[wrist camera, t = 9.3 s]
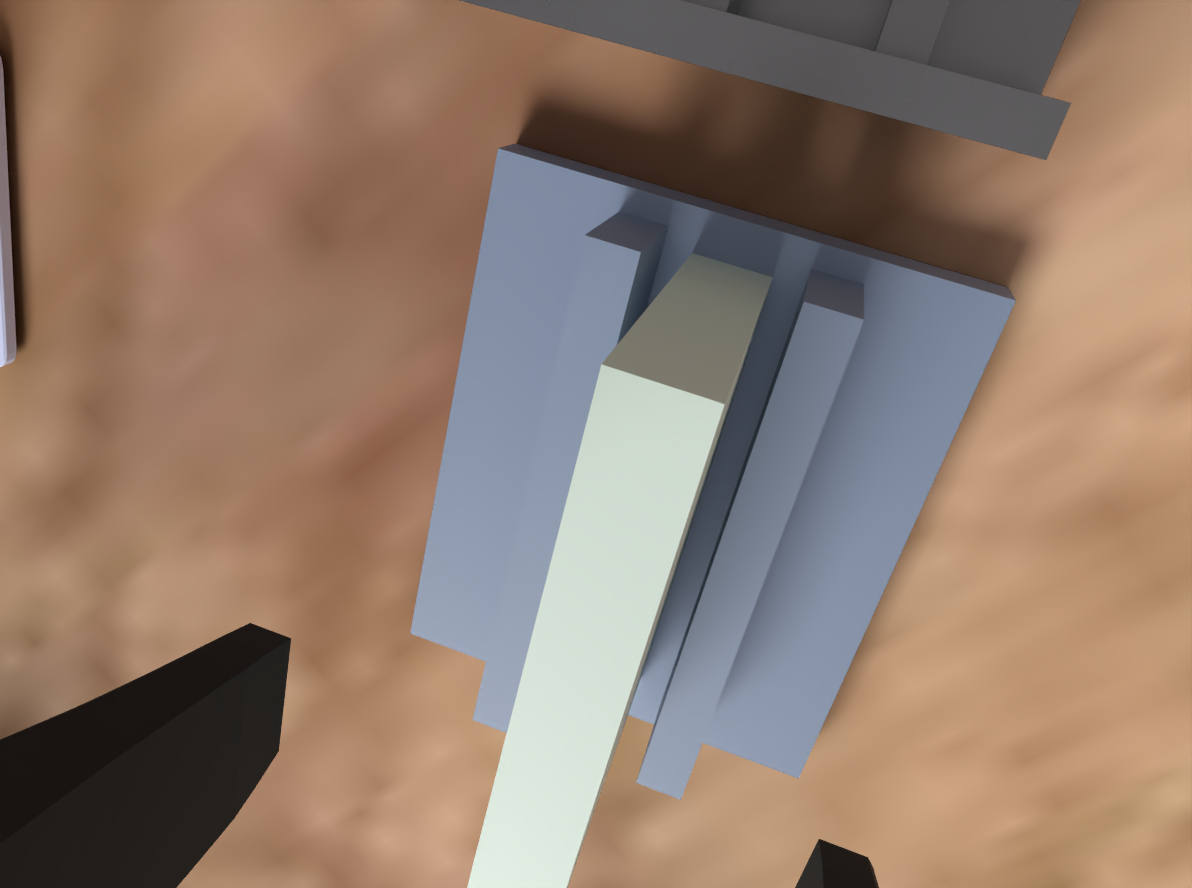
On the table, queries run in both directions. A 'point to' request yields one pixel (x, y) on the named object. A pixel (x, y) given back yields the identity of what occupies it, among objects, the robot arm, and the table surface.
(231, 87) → the table surface
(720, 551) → the sheet stand
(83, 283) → the table surface
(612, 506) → the pale green slab
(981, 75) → the slotted rack
